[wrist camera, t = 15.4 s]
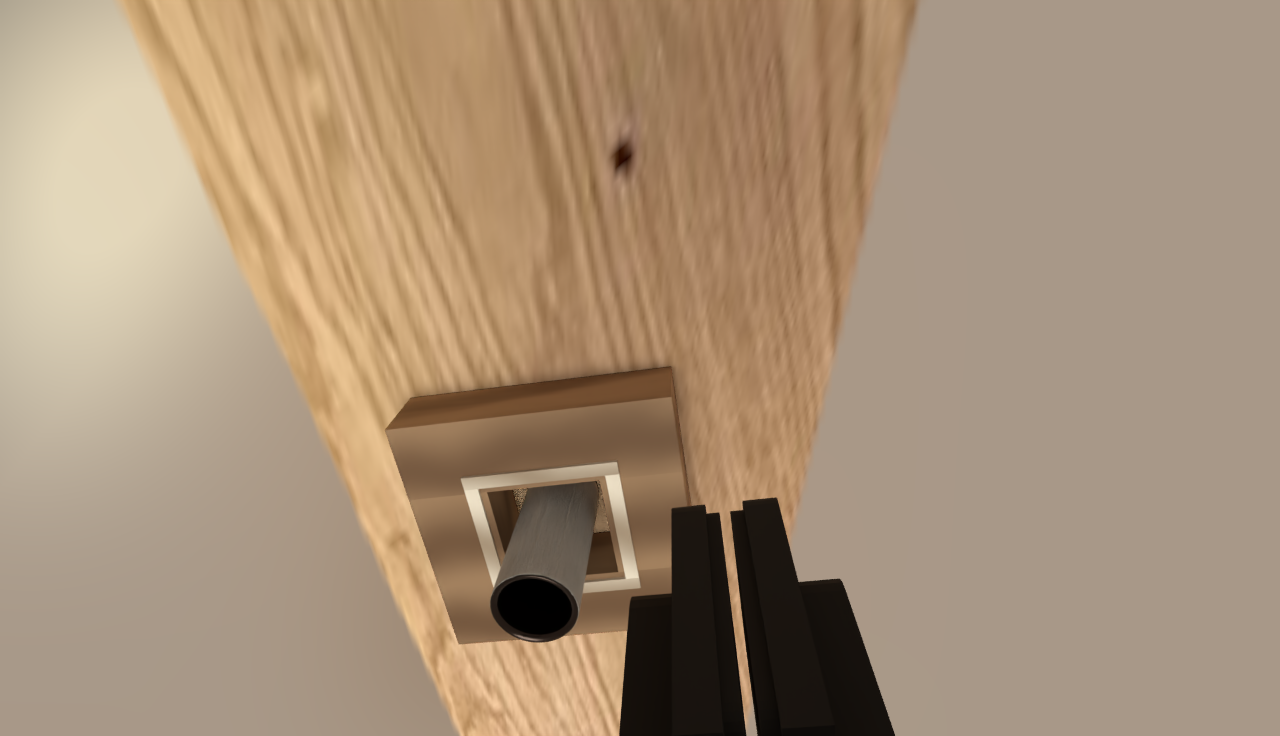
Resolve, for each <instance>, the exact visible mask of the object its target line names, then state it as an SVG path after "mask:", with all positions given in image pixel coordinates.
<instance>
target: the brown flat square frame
mask: <svg viewBox="0 0 1280 736" xmlns="http://www.w3.org/2000/svg"><path fill="white" fill-rule="evenodd" d="M385 432H386V435H387V438H388V441H389V444H390V447H391V449H392V452H393V455H394V458H395V461H396V464H397V467H398V470H399V473H400V476H401V478H402V481H403V484H404V487H405V490H406V493H407V496H408V499H409V502H410V504H411V507H412V510H413V513H414V516H415V519H416V522H417V525H418V528H419V531H420V533H421V536H422V539H423V542H424V545H425V548H426V551H427V554H428V557H429V560H430V562H431V565H432V568H433V571H434V574H435V577H436V580H437V583H438V586H439V588H440V591H441V594H442V597H443V600H444V603H445V606H446V609H447V612H448V615H449V617H450V620H451V623H452V626H453V629H454V632H455V635H456V638H457V641H458V644H471V643H483V642H495V641H507V640H520V639H518V638H515V637H513V636H511V635H510V634H508V633H507V632H505V631H504V630H503V629H502V628H501V627H500V626H499V625H498V624H497V623H496V621H495V620H494V618H493V616H492V614H491V610H490V598H491V594H492V591H493V588H494V585H495V583H496V580H497V577H498V574H499V571H500V568H501V565H502V562H503V560H504V557H505V554H506V551H507V548H508V545H509V542H510V539H511V537H512V534H513V531H514V528H515V525H516V522H517V519H518V517H519V513H518V509H517V506H516V502H515V498H514V495H513V491H512V490H513V489H523V488H532V487H542V486H551V485H561V484H570V483H580V482H589V481H599V480H600V485H601V489H602V494H603V499H604V504H605V509H606V514H607V519H608V524H609V528H610V532H603V533H593V536H592V542H591V548H590V553H589V559H588V565H587V571H586V576H585V582H584V588H583V594H582V599H581V605H580V611H579V616H578V620H577V622H576V624H575V626H574V627H573V628H572V630H571V631H570V632H568V633H567V634H566V635H564V636H569V635H581V634H593V633H605V632H618V631H627V629H628V616H629V605H630V600H631V597H633V596H645V595H656V594H668V593H672V569H671V509H672V508H676V507H686V506H691V501H690V494H689V487H688V480H687V473H686V466H685V459H684V452H683V445H682V438H681V431H680V424H679V418H678V411H677V404H676V397H675V390H674V383H673V376H672V369H671V367H664V368H656V369H648V370H639V371H631V372H623V373H614V374H606V375H598V376H590V377H581V378H573V379H565V380H556V381H548V382H540V383H531V384H523V385H515V386H506V387H498V388H490V389H482V390H473V391H465V392H457V393H448V394H440V395H432V396H423V397H415V398H410V400H409V401H408V402H407V403H406V404H405V406H404V407H403V408H402V409H401V411H400V412H399V413H398V414H397V416H396V417H395V418H394V419H393V421H392V422H391V423H390V424H389V426H388V427H387V428H386V429H385Z"/></svg>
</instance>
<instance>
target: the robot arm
mask: <svg viewBox="0 0 1280 736" xmlns="http://www.w3.org/2000/svg"><path fill="white" fill-rule="evenodd" d="M730 514H731V523H732V531H733V540H734V549H735V557H736V566H737V575H738V583H739V592H740V601H741V609H742V618H743V627H744V635H745V644H746V652H747V659H748V667H749V675H750V682H751V690H752V697H753V705H754V712H755V720H756V727H757V734H758V736H895V734H894V731H893V728H892V725H891V722H890V719H889V716H888V713H887V710H886V707H885V704H884V702H883V699H882V696H881V693H880V690H879V687H878V684H877V681H876V678H875V675H874V672H873V669H872V666H871V664H870V660H869V657H868V655H867V652H866V649H865V646H864V643H863V640H862V637H861V634H860V631H859V628H858V626H857V622H856V620H855V617H854V613H853V611H852V608H851V605H850V602H849V599H848V596H847V593H846V590H845V588H844V585H843V583H842V581H841V580H840V579H830V580H819V581H806V582H798V578H797V575H796V571H795V567H794V563H793V559H792V555H791V551H790V547H789V543H788V539H787V535H786V531H785V527H784V523H783V519H782V515H781V511H780V507H779V504H778V500H777V498H767V499H757V500H747V501H743V510H740V511H730ZM671 569H672V593H668V594H656V595H645V596H633V597H631V600H630V605H629V616H628V629H627V642H626V655H625V668H624V681H623V694H622V707H621V720H620V733H619V736H746V729H745V721H744V712H743V703H742V695H741V686H740V677H739V669H738V660H737V651H736V643H735V635H734V627H733V619H732V611H731V602H730V594H729V586H728V578H727V570H726V562H725V554H724V546H723V538H722V530H721V521H720V514H719V513H709V514H706V507H705V505H696V506H686V507H676V508H672V509H671Z"/></svg>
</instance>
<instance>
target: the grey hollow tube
mask: <svg viewBox="0 0 1280 736" xmlns="http://www.w3.org/2000/svg"><path fill="white" fill-rule="evenodd" d="M598 500H599V491H598V486H597V484H596V482H595V481H589V482H580V483H570V484H561V485H551V486H542V487H532V488H528V491H527V494H526V496H525V499H524V502H523V505H522V508H521V511H520V514H519V517H518V519H517V522H516V525H515V528H514V531H513V534H512V537H511V539H510V542H509V545H508V548H507V551H506V554H505V557H504V560H503V562H502V565H501V568H500V571H499V574H498V577H497V580H496V583H495V585H494V588H493V591H492V594H491V598H490V610H491V614H492V616H493V618H494V620H495V621H496V623H497V624H498V625H499V626H500V627H501V628H502V629H503V630H504V631H505V632H507V633H508V634H510V635H511V636H513V637H515V638H518V639H521V640H524V641H529V642H549V641H553V640H556V639H559V638H561V637H563V636H564V635H566V634H567V633H568V632H570V631H571V630H572V628H573V627H574V626H575V624H576V622H577V620H578V616H579V611H580V605H581V599H582V594H583V588H584V582H585V576H586V571H587V565H588V559H589V553H590V548H591V542H592V536H593V530H594V525H595V519H596V513H597V507H598Z"/></svg>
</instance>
